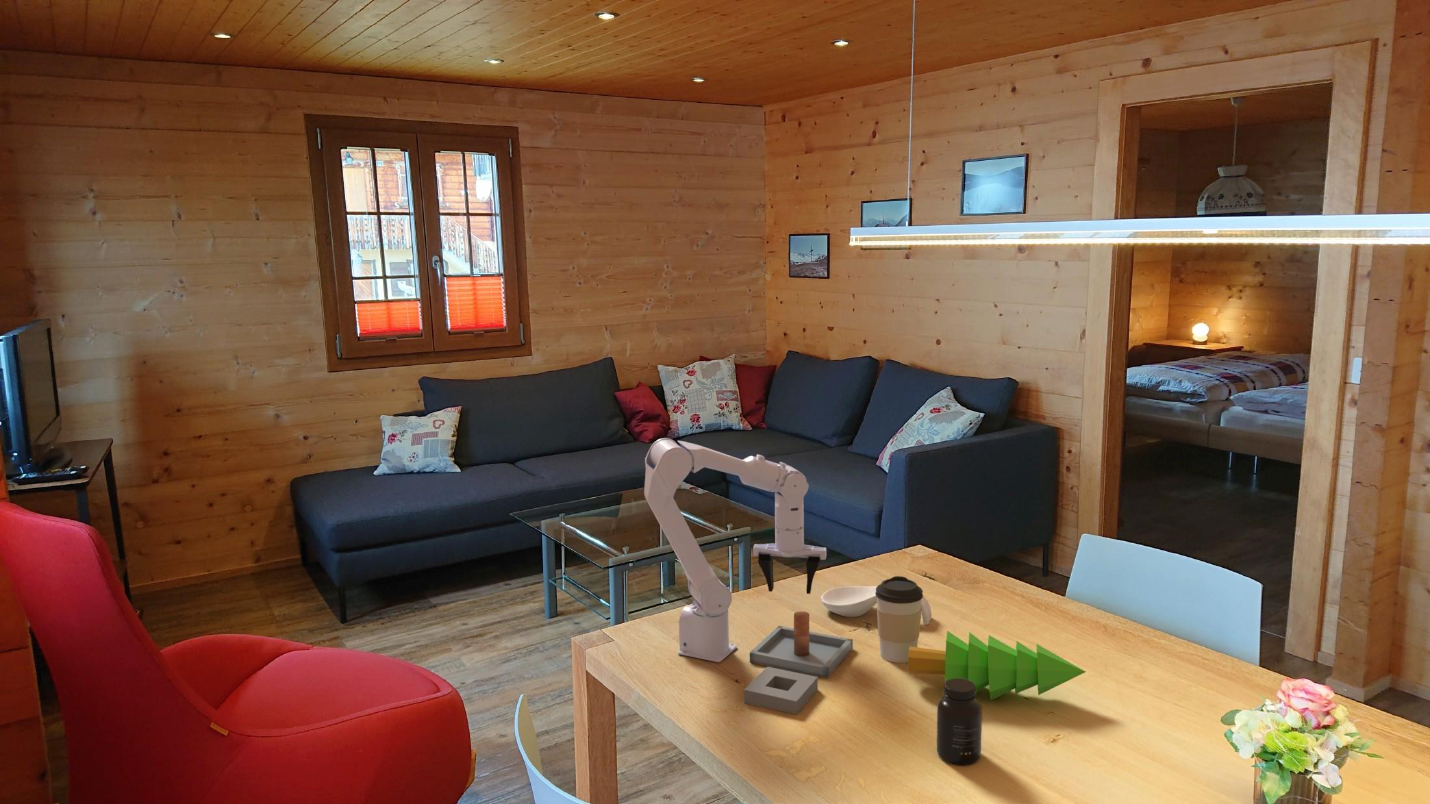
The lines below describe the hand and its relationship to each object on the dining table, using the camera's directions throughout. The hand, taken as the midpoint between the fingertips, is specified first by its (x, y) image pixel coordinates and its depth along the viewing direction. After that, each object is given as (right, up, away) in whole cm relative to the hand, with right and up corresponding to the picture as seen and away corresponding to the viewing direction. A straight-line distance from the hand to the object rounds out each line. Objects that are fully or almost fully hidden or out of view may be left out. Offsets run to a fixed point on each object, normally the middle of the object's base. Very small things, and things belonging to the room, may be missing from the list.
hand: (789, 590), depth 192 cm
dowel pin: (+2, -11, -6) cm, 13 cm away
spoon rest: (+19, -8, +14) cm, 25 cm away
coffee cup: (+21, -11, -6) cm, 25 cm away
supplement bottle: (+23, -18, -42) cm, 51 cm away
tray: (+2, -12, -6) cm, 13 cm away
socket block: (-3, -15, -22) cm, 26 cm away
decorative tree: (+34, -14, -23) cm, 44 cm away
